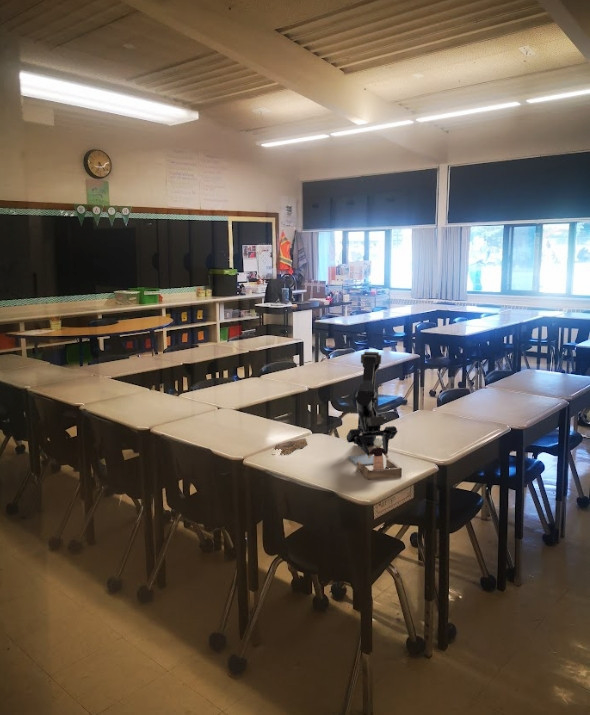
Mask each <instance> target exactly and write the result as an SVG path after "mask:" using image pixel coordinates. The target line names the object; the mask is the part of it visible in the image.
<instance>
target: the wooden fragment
mask: <svg viewBox="0 0 590 715" xmlns="http://www.w3.org/2000/svg"><path fill="white" fill-rule="evenodd" d="M305 446H309V444H308V442H307V438H299V439H295V440H289V441H286V442H285V441H284V442H281V443H278V444H276V445H275V446H274V448H273V450H274V449H275V450H276V449H278V450H279V449H281V450H282V451H281V453H280V454H284V455H283V456H286V455H285V454H288V455H291V453H292V452H295V451H296V450H300V449H303V448H305ZM288 455H287V456H288Z"/></svg>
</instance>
